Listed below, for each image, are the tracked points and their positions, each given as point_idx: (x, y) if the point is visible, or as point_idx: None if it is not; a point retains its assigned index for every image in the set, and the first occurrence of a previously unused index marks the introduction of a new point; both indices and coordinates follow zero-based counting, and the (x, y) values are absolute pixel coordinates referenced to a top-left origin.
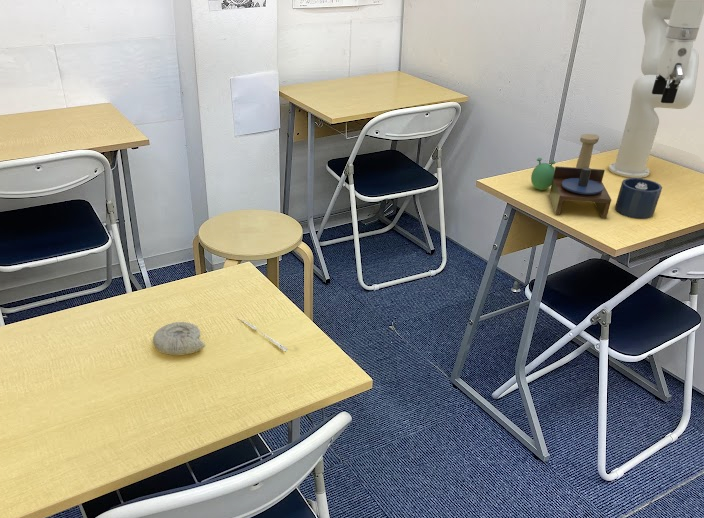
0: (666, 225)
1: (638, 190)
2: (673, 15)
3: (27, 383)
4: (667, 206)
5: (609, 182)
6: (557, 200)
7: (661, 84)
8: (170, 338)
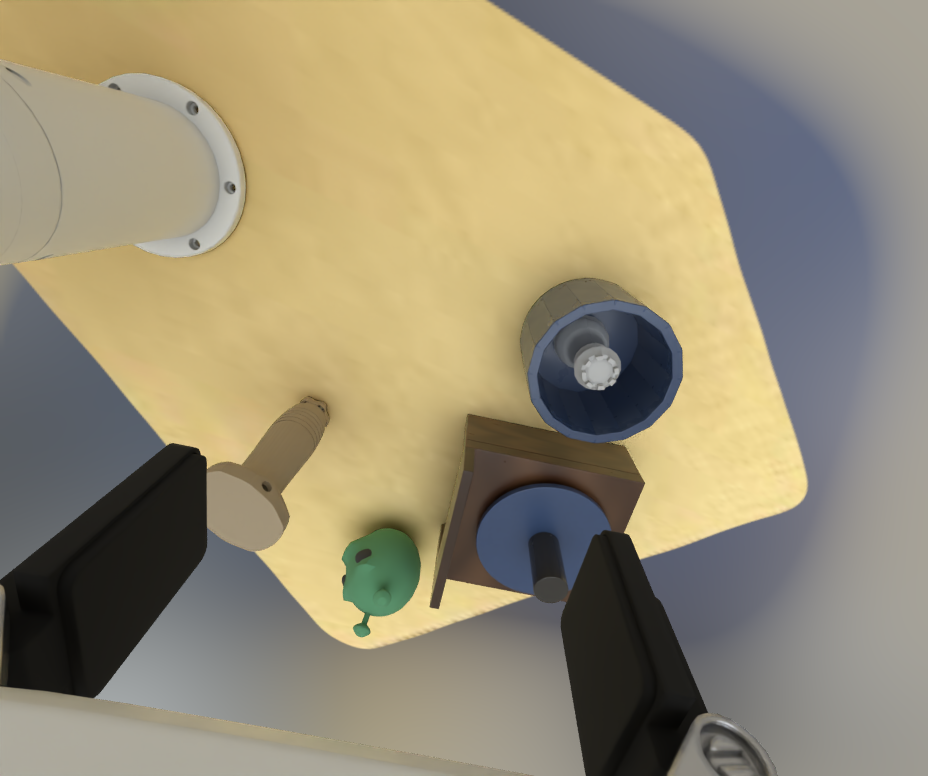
0: (704, 280)
1: (660, 415)
2: None
3: None
4: (544, 187)
5: (306, 306)
6: None
7: (124, 590)
8: None
